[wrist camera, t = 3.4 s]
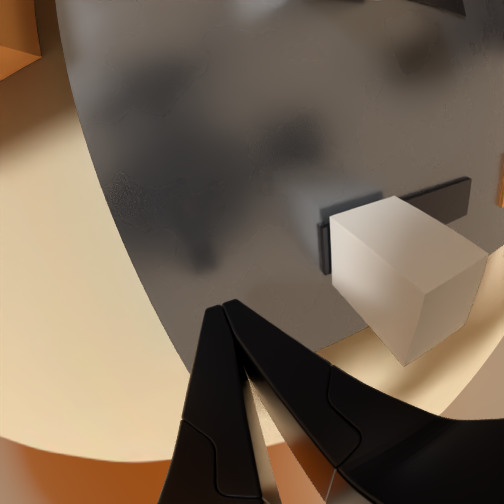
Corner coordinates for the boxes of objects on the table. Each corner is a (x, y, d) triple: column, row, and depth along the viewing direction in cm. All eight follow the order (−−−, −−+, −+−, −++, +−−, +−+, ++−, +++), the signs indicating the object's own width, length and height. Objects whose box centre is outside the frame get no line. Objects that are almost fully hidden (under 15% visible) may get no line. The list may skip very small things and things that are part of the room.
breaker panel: (490, -22, 7) (518, -21, 5) (495, 224, 17) (517, 238, 15) (65, -67, 3) (50, -98, 1) (193, 359, 13) (203, 399, 11)
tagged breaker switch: (394, 195, 9) (488, 253, 6) (390, 259, 11) (464, 324, 7) (329, 216, 9) (425, 294, 5) (332, 284, 10) (403, 366, 7)
